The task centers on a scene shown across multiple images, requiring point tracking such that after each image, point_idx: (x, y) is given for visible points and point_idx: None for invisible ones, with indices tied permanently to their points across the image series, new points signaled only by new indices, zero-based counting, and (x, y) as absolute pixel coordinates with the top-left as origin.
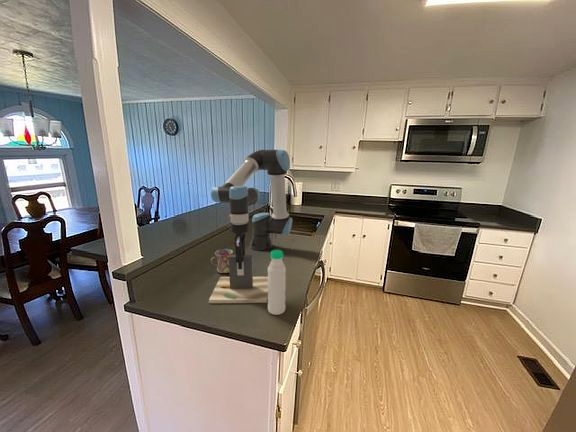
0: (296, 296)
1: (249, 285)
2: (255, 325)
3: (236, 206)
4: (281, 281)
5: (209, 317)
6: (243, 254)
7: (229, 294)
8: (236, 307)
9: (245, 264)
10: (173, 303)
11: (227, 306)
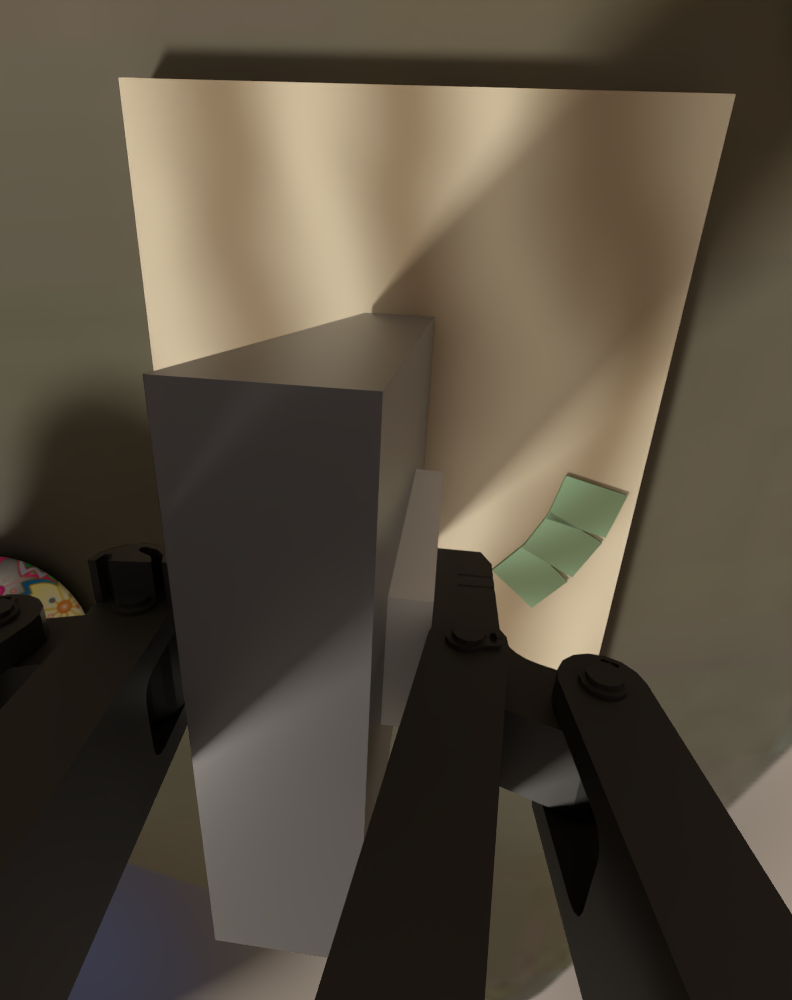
0: None
1: (431, 357)
2: None
3: None
4: None
5: (786, 654)
6: (148, 665)
7: (531, 552)
8: (705, 462)
9: (400, 509)
10: (535, 866)
11: (665, 540)
